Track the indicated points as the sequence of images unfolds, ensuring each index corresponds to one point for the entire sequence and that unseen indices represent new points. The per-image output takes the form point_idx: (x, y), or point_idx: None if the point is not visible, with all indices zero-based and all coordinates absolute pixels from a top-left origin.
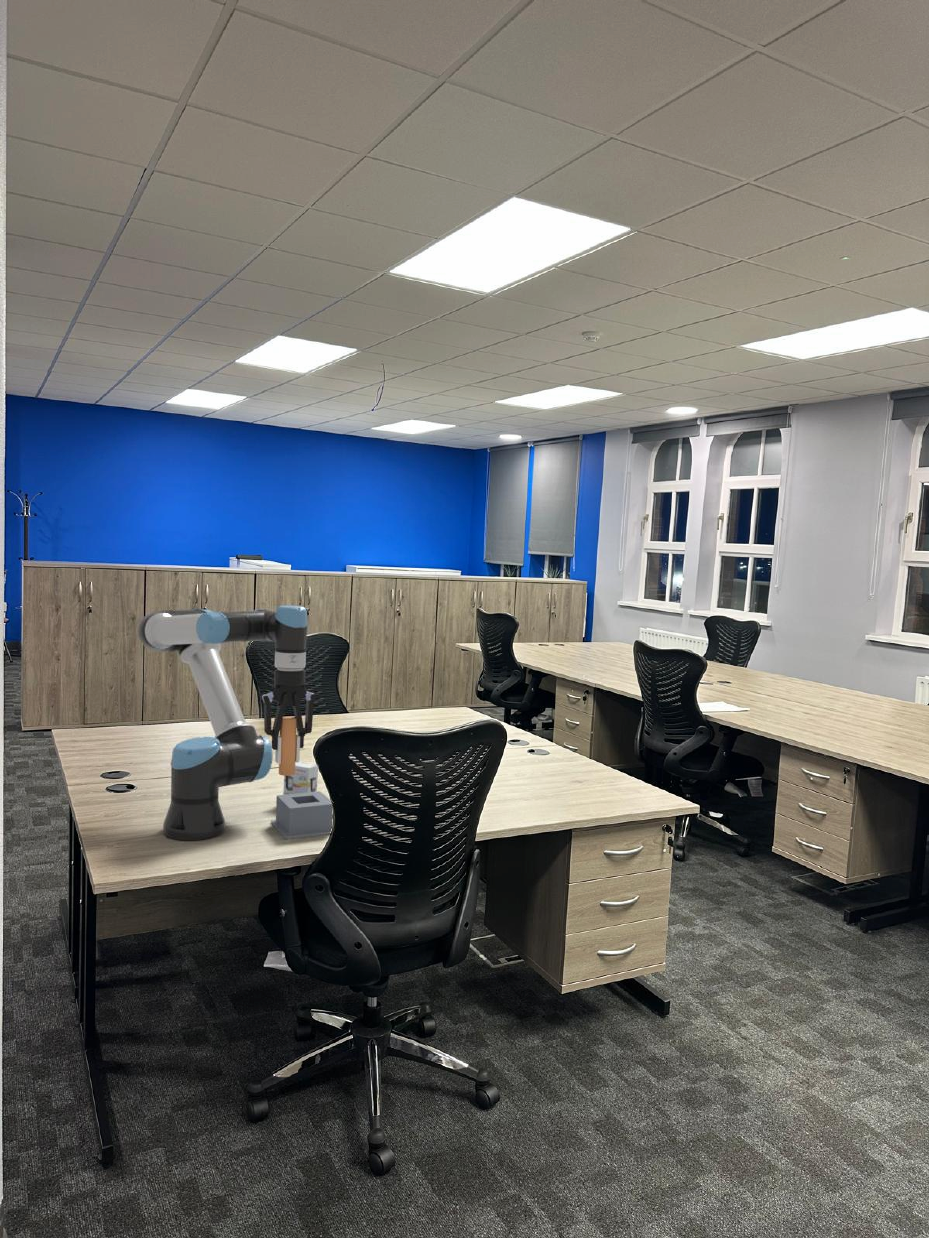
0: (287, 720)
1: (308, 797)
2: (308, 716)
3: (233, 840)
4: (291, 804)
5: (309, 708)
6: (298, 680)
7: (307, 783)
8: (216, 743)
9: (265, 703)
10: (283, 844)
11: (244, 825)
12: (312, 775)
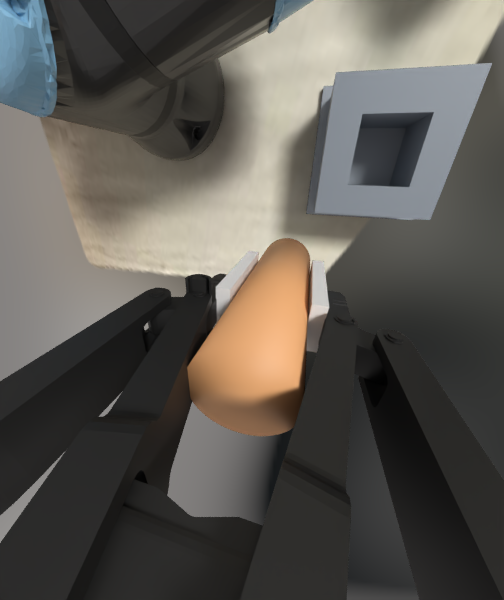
0: (221, 419)
1: (416, 114)
2: (389, 472)
3: (227, 182)
4: (331, 183)
5: (425, 580)
6: None
7: None
8: None
9: None
10: (292, 234)
11: (265, 90)
12: None
